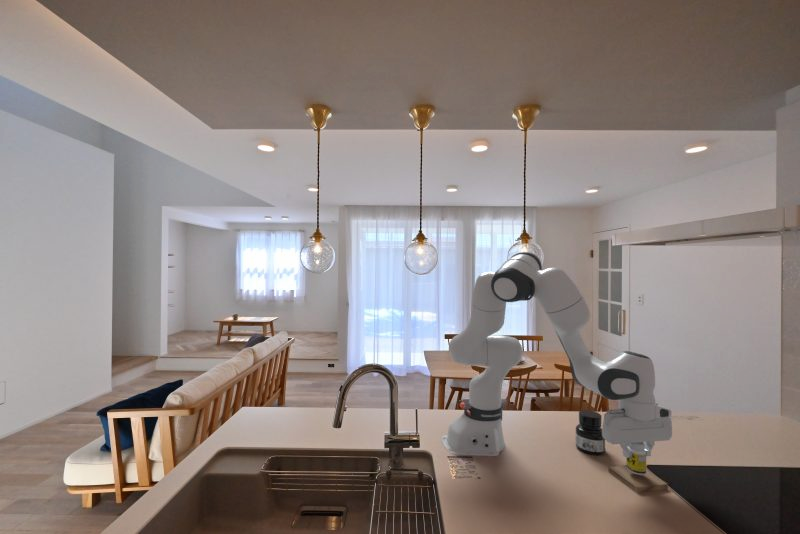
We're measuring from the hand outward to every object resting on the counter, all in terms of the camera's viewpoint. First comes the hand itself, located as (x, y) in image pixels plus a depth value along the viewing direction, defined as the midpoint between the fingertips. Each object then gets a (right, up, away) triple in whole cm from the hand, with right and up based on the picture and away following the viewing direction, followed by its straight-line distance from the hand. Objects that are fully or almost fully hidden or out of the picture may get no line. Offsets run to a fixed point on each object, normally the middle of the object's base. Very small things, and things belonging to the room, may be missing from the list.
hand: (636, 456), depth 99 cm
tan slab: (0, -8, 0) cm, 8 cm away
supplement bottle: (0, -5, 0) cm, 5 cm away
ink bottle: (-4, -8, +18) cm, 20 cm away
